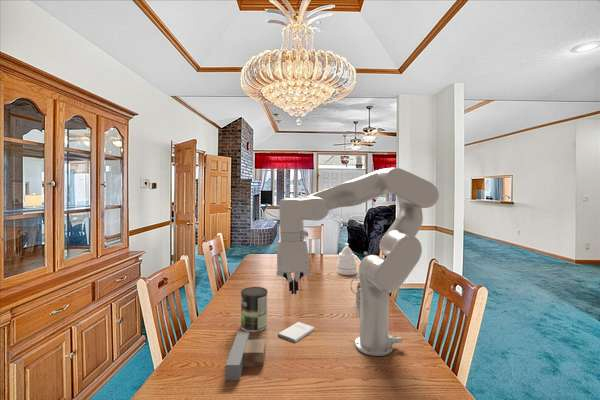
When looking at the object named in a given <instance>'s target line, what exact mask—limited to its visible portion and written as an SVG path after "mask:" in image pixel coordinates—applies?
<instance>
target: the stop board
mask: <svg viewBox="0 0 600 400" xmlns="http://www.w3.org/2000/svg"><path fill="white" fill-rule="evenodd" d="M247 340H250V332H247V331H237V333H236V336H235V339H234V340H233V343H232V347H231V348H230V352H229V354H228V358H227V359H226V362H225V367H224V368H225V375H224V376H225V381H241V376H242V373H243V369H244V367H245V366H244V350H245V346H246V343H247Z"/></svg>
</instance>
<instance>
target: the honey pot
mask: <svg viewBox="0 0 600 400" xmlns="http://www.w3.org/2000/svg"><path fill="white" fill-rule="evenodd" d="M344 245H345V246H344V247H343V249H342V250H341V252H339V253H338V255H339V257H338V258H337V262H336V273H337V274H340V275H344V276H345V275H346V276H347V275H348V276H353V275H357V274H358V273H357V270H358V269H357V268H358V267H357V266H358V264H357V262H356V258H355V253H353V251H352V249H351V248H350V246H349V245H350V243H345V242H344Z"/></svg>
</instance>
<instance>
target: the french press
mask: <svg viewBox="0 0 600 400" xmlns="http://www.w3.org/2000/svg"><path fill="white" fill-rule="evenodd" d="M363 255H365V256H364V257H366V256H368V255H369V253H368V252H367V251H363ZM356 278H357V279H358V278H359V273H356V277H354V278H353V279H351V281H350V285H352V283H353V281H355V280H356ZM350 290H351V292H352V293H353V294H354V295H356V296H355V302H354V303H353V304H354V306H355V307H356V308H359V309H360V295H361V292H360V281H359V282H358V283H357V286H356V291H354V290H353V287H350Z"/></svg>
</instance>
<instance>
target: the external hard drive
mask: <svg viewBox="0 0 600 400" xmlns="http://www.w3.org/2000/svg"><path fill="white" fill-rule="evenodd" d="M313 331H316V327H314V326H312V325H308V324H306V323H303V322H301V321H297V322H295V323H294V324H292V325H290V326H289V327H287V328H285V329H284V330H282V331H280V332H279V333H277V337H280V338H283V339H285V340H287V341H290V342H293V343H297V342H299V341H301V340H302V339H303V338H305V337H306V336H308V335H309V334H310V333H313Z"/></svg>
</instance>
